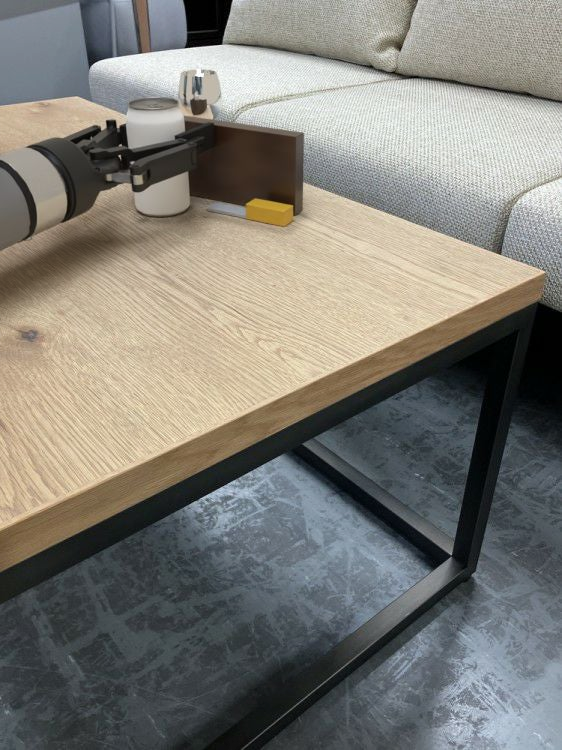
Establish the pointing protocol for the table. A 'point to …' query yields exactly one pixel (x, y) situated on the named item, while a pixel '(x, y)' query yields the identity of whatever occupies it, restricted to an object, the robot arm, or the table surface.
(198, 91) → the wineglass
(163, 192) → the can
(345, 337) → the table surface
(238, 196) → the backboard
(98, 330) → the table surface
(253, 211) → the knife
